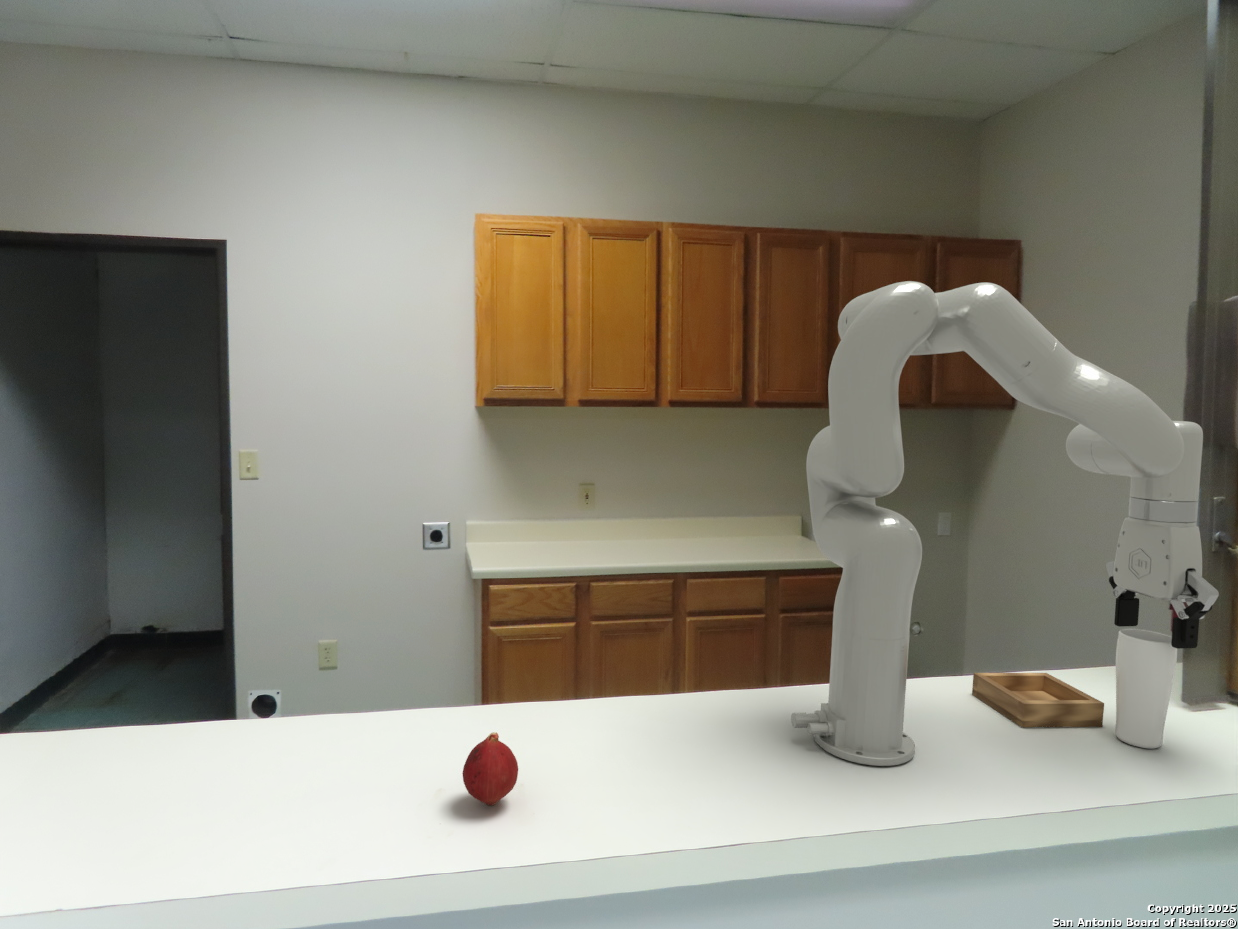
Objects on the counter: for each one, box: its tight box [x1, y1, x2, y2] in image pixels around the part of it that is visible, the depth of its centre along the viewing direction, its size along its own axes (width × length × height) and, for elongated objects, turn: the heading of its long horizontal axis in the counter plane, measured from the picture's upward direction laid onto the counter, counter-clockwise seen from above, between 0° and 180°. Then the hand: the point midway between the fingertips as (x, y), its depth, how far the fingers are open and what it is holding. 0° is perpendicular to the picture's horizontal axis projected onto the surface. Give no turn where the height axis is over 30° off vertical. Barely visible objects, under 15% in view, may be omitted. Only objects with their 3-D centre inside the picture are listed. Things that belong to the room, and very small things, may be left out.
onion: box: [462, 731, 519, 806], centre depth 81 cm, size 6×6×8 cm
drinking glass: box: [1115, 628, 1178, 750], centre depth 103 cm, size 7×7×15 cm
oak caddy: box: [971, 672, 1105, 729], centre depth 113 cm, size 12×12×4 cm
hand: (1153, 636), depth 103 cm, fingers open, 9 cm apart
